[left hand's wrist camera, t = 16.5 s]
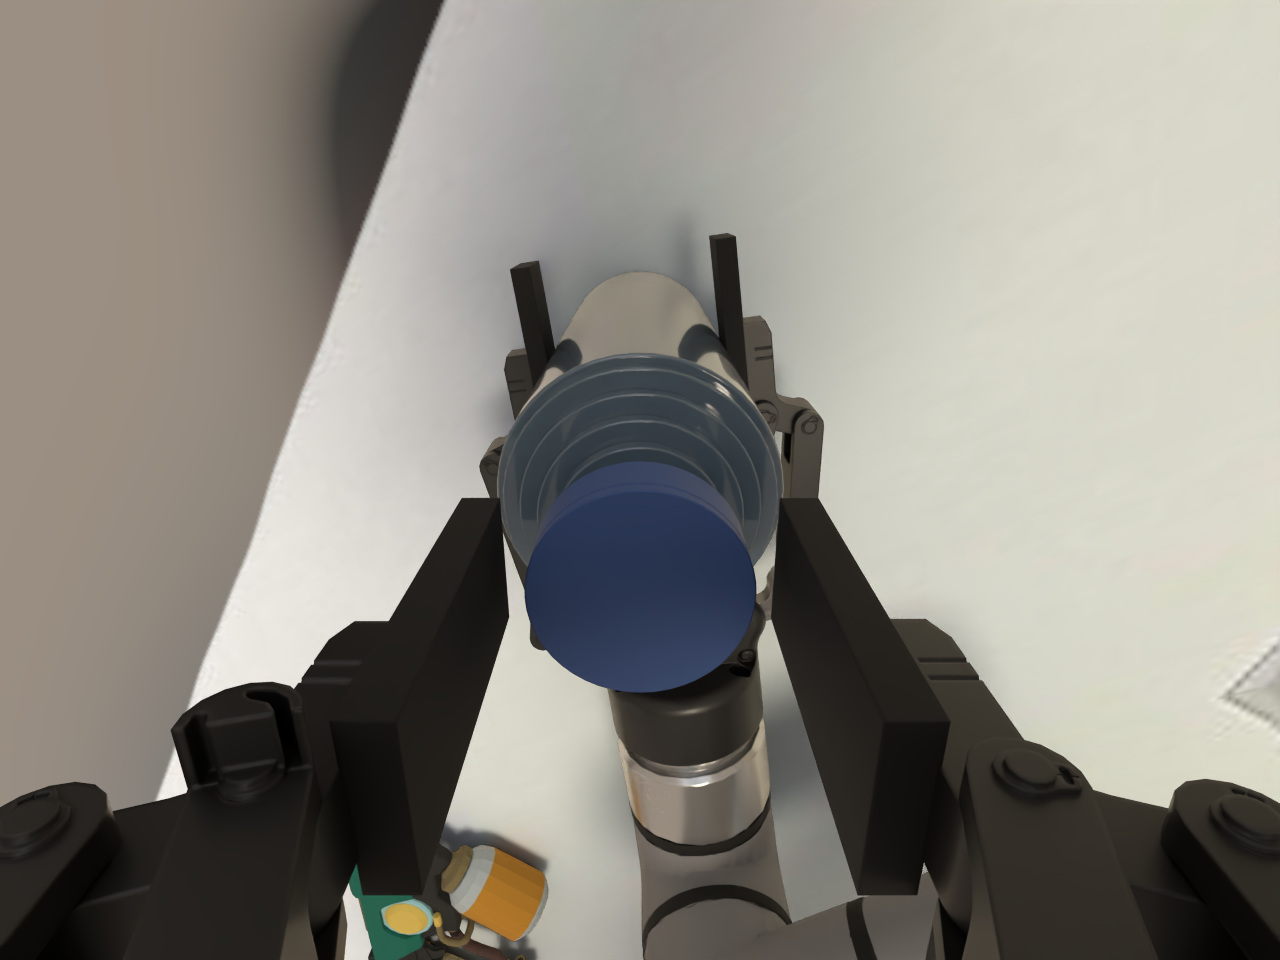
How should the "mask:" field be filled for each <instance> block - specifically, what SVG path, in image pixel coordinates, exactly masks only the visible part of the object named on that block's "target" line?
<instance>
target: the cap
mask: <svg viewBox="0 0 1280 960" xmlns="http://www.w3.org/2000/svg"><path fill="white" fill-rule="evenodd" d="M755 602H756V579H755V573H754V568H753V565H752V562H751V558H750V555H749V552H748V549H747V545H746V542H745V539H744V536H743V532H742V529H741V526H740V523H739V521H738V519H737V517H736V515H735V513H734V511H733V510H732V508H731V507H730V505H729V504H728V503H727V501H726V500H725V499H724V498H723V497H722V496H721V495H720V493H719V492H718V491H717V490H715V489H714V488H713V487H712V486H711V485H709V484H708V483H707V482H705V481H704V480H702V479H701V478H699V477H697V476H696V475H694V474H692V473H690V472H687V471H685V470H683V469H680V468H677V467H674V466H671V465H667V464H661V463H656V462H642V461H638V462H625V463H619V464H614V465H610V466H607V467H604V468H601V469H598V470H595V471H593V472H591V473H589V474H587V475H585V476H583V477H582V478H580V479H579V480H577V481H576V482H574V483H573V484H571V485H570V486H569V487H568V488H567V489H566V490H564V491H563V492H562V493H561V494H560V495H559V497H558V498H557V499H556V500H555V501H554V502H553V504H552V505H551V507H550V508H549V510H548V511H547V513H546V515H545V517H544V519H543V521H542V523H541V526H540V529H539V532H538V535H537V539H536V542H535V545H534V548H533V552H532V555H531V558H530V562H529V565H528V568H527V572H526V579H525V603H526V609H527V613H528V617H529V620H530V623H531V625H532V627H533V630H534V632H535V634H536V636H537V637H538V639H539V640H540V642H541V643H542V645H543V647H544V648H545V649H546V650H547V651H548V652H549V654H550V655H551V656H552V657H553V658H554V659H555V660H556V661H557V662H558V663H560V664H561V665H562V666H563V667H564V668H566V669H567V670H569V671H570V672H571V673H573V674H575V675H576V676H578V677H580V678H582V679H584V680H586V681H588V682H591V683H593V684H596V685H598V686H601V687H605V688H609V689H612V690H618V691H624V692H639V693H643V692H657V691H663V690H669V689H672V688H676V687H679V686H683V685H685V684H688V683H690V682H693V681H695V680H697V679H699V678H701V677H703V676H704V675H706V674H708V673H709V672H711V671H712V670H714V669H715V668H716V667H718V666H719V665H720V664H721V663H722V662H724V661H725V660H726V659H727V658H728V657H729V656H730V655H731V654H732V652H733V651H734V650H735V649H736V648H737V646H738V645H739V643H740V642H741V640H742V639H743V637H744V635H745V634H746V632H747V629H748V627H749V625H750V623H751V620H752V616H753V613H754V609H755Z"/></svg>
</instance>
